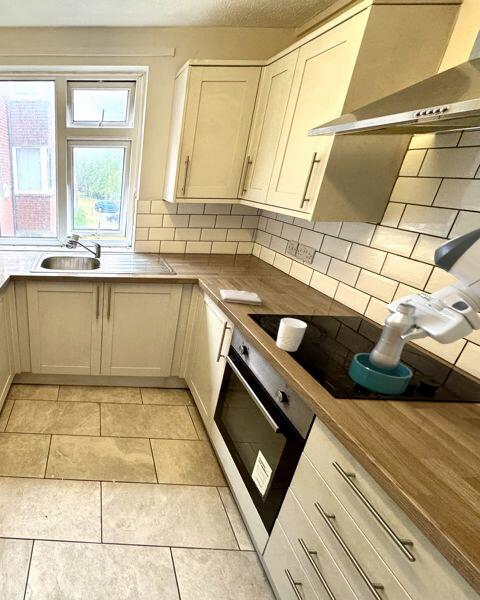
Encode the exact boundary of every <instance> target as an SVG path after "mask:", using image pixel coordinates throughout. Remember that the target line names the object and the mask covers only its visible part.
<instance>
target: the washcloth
mask: <svg viewBox="0 0 480 600" xmlns="http://www.w3.org/2000/svg"><path fill="white" fill-rule="evenodd" d="M219 294H220V296H221V299H222V301H223V302H226V303H232V304H233V303H235V304H245V305H251V306H261V305H262V302H263V300H262V299H261V298H260V296H259V294H257V293H256V292H249V291H246V290H236V289H220V290H219Z"/></svg>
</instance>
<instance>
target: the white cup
mask: <svg viewBox="0 0 480 600" xmlns="http://www.w3.org/2000/svg"><path fill="white" fill-rule="evenodd" d="M307 327H308V325H307V323H306V322H304V321H302V320H300V319H297V318H292V317H284V318H281V319H280V322H279V327H278V332H277V338H276V342H275V346H276V347H277V348H278V349H281V350H283V351H287V352H297V351H298V350H299V347H300V345H301V343H302V340H303V338H304V335H305V332H306V330H307Z"/></svg>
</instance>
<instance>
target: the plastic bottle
mask: <svg viewBox="0 0 480 600" xmlns="http://www.w3.org/2000/svg"><path fill="white" fill-rule="evenodd" d="M416 309H417V307H416V306H413V305H410V304H405V303H400V304H399V306H398V308H397V309H396V310H397V312H395V313H393V314H391V313H390V315H388V316H387V317H386V318H385V319H384V322H383V323H384V327H382V332H381V333H380V337H379V340H378V342H377V344H376V345H375V347H374V348H373V349H372V350H371V352H370V353H369V354H370V358H369V359H370V362H371V363H372V364H373V365H375V366H377V367H379V368H383V369H388V370H391V369H394V368H396V366H397V365H398V364H399V363H400V361H401V355H402V352H403V348H404V347H405V344H406V343H407V342H405V341H404V340H402V339H401V338H400V335H402V334H404V333H408V334H409V333H413V332H414V331H415V329H416V325H415V319H414V317H413V314H415V311H416Z"/></svg>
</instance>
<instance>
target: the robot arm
mask: <svg viewBox="0 0 480 600" xmlns="http://www.w3.org/2000/svg"><path fill="white" fill-rule="evenodd" d="M433 262H434V265H435V266H436V267H438V268H440V269H442V270H443V271H444V272H446V273H449V274H450V275H452V276H453V277H455V278H456V280H458V281H456V282H454V283H451V284H448V285H446V286H444V287H441V288H440V289H438V290H436V291H434V292H432V293H431V294H428V295H427V294H426V293H423V292H421V293H412V294H408V295H405V296H402V297H400V298H398V299H396V300H394V301H392V302H389V303H388V304H387V306H386V309H387V311H388V312H389V313H390V315H391V314H393V313H395V312H397V310H396V309H397V308H398V306H399V304H400V303H405V304H410V305H413V306H416V307H417V309H416V311H415V314H413V317H414V319H415V325H416V328H415V329H416V330H415V331H413V332H412V333H409V334H408V333H404V334H402V335H400V338H401V339H402V340H404V341H405V342H406V343H409V342H410V341H413V340H421V339H425V338H428V337H429V338H431V339H432V340H434V341H436V342H438V343H439V344H441V345H448V344H452V343H455V342H457V341H459V340H461V339H464V338H465V337H467V336H469V335H471V334H472V333H473V331H479V330H480V315H479V314H478V313H480V227H479V228H477V229H475V230H472V231H470V232H467V233H464V234H461V235H458V236H455V237H453V238H450V239H449V240H447V241H445V242H443V243H442V244H441V245H440V246H439V247H437V248H436V249H435V250H434V254H433ZM384 323H385V322H383V323H382V328H384Z"/></svg>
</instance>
